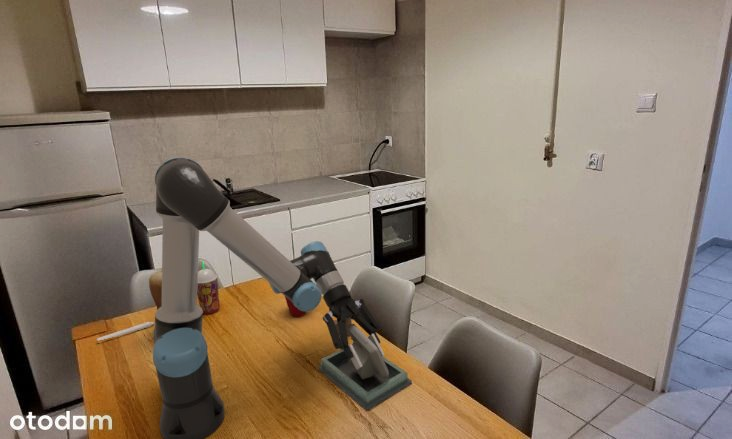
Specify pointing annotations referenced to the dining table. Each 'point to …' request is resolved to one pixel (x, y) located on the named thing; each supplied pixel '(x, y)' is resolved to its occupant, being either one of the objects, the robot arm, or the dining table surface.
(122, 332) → the marker
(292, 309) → the plastic cup
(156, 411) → the dining table surface
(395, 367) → the keeper tray
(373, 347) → the digital clock
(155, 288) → the butternut squash
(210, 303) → the smoothie
